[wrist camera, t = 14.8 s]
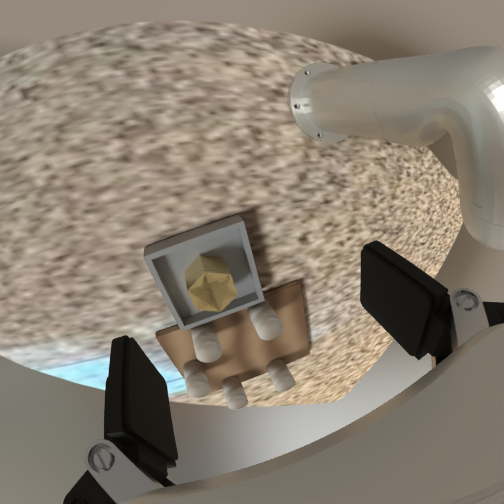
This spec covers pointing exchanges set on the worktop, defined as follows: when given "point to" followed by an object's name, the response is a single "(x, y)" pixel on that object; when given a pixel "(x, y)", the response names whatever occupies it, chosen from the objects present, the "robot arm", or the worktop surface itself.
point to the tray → (212, 244)
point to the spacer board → (241, 346)
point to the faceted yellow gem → (209, 283)
